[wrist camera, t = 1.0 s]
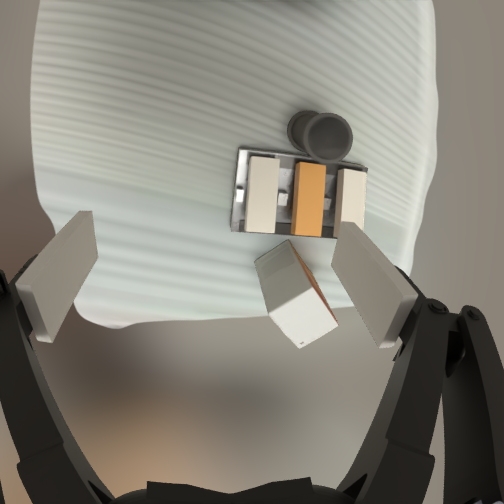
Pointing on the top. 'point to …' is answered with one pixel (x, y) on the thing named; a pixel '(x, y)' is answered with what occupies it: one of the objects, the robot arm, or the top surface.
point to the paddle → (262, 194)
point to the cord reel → (320, 135)
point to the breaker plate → (286, 190)
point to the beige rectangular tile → (350, 198)
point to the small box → (293, 296)
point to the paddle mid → (308, 199)
